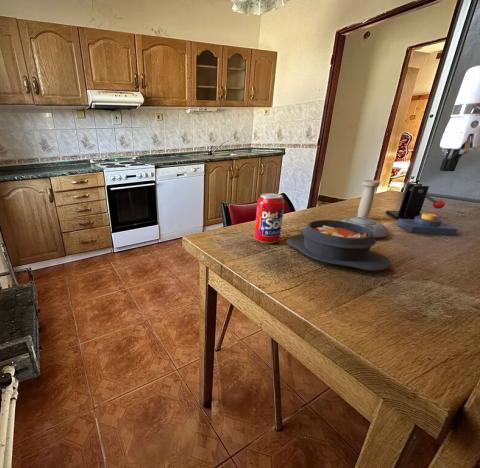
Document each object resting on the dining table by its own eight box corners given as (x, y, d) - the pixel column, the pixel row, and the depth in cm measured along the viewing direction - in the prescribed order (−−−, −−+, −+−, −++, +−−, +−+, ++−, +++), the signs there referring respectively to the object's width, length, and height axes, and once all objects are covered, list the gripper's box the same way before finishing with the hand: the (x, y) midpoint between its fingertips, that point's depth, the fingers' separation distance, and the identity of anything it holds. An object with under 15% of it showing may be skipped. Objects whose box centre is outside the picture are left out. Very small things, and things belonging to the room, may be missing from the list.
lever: (435, 208, 100) (443, 202, 98) (441, 211, 97) (449, 204, 95) (407, 190, 100) (414, 183, 99) (411, 191, 97) (419, 184, 96)
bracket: (417, 214, 104) (428, 183, 100) (431, 221, 96) (444, 187, 92) (385, 213, 107) (394, 182, 103) (396, 219, 99) (406, 186, 95)
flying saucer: (388, 244, 78) (393, 227, 76) (331, 235, 87) (334, 219, 85) (387, 230, 89) (391, 215, 87) (336, 222, 98) (339, 209, 96)
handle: (370, 218, 101) (381, 180, 96) (367, 222, 97) (378, 183, 91) (356, 216, 104) (365, 179, 99) (352, 220, 100) (362, 181, 95)
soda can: (261, 234, 89) (266, 191, 84) (283, 240, 83) (290, 195, 78) (249, 240, 84) (253, 195, 79) (271, 247, 79) (277, 199, 73)
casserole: (399, 262, 68) (409, 232, 65) (372, 286, 58) (382, 252, 55) (305, 235, 87) (309, 211, 84) (272, 250, 77) (276, 223, 74)
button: (431, 218, 89) (432, 213, 88) (437, 221, 86) (439, 216, 85) (418, 217, 90) (419, 212, 89) (424, 220, 87) (426, 215, 86)
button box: (437, 226, 91) (441, 215, 90) (455, 235, 83) (460, 223, 82) (396, 224, 95) (400, 213, 93) (410, 232, 87) (414, 221, 85)
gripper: (505, 108, 72) (478, 174, 79) (466, 112, 86) (445, 168, 92) (471, 109, 75) (447, 173, 81) (438, 113, 88) (420, 168, 94)
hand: (446, 170), depth 87 cm, fingers closed
